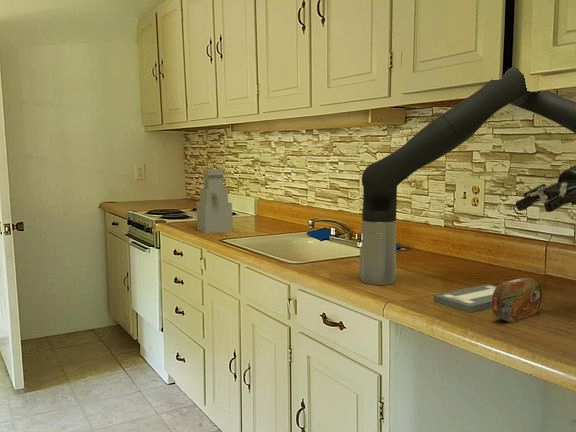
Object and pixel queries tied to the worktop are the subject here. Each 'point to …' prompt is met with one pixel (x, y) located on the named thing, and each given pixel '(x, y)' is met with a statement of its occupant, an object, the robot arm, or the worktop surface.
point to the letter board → (468, 298)
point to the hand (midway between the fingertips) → (531, 207)
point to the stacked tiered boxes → (214, 204)
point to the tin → (517, 299)
